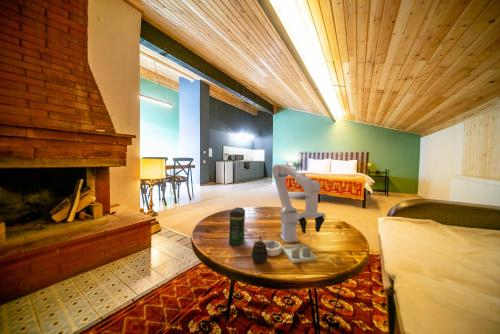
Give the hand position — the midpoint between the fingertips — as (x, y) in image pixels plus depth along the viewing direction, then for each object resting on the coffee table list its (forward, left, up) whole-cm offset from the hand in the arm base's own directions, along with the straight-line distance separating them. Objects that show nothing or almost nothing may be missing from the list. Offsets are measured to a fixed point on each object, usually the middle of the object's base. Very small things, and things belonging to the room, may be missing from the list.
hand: (310, 232), depth 93 cm
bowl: (-5, -19, -10) cm, 22 cm away
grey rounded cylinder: (-5, -19, -9) cm, 22 cm away
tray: (+2, -8, -10) cm, 13 cm away
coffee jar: (-18, -34, -10) cm, 40 cm away
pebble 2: (+4, -5, -9) cm, 11 cm away
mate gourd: (+2, -27, -10) cm, 29 cm away
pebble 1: (+4, -10, -9) cm, 15 cm away
